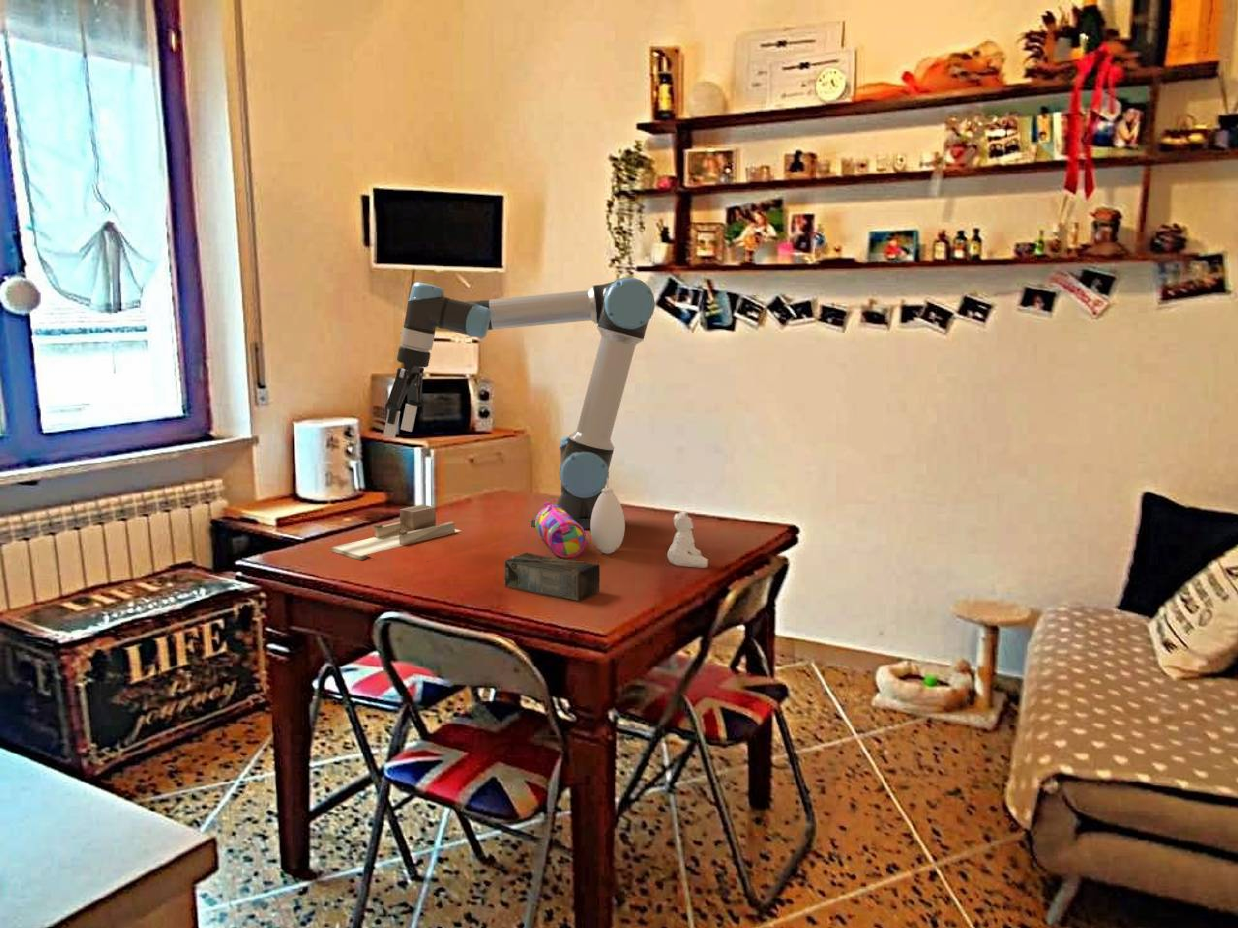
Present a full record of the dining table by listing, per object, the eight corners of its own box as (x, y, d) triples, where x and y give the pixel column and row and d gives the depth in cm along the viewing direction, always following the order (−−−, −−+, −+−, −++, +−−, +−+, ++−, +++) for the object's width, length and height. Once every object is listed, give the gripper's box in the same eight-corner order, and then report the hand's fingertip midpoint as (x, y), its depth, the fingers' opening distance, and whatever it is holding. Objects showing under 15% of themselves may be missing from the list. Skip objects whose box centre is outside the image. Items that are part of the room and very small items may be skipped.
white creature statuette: (709, 568, 210) (710, 515, 207) (671, 570, 208) (672, 517, 206) (699, 556, 219) (700, 506, 217) (662, 558, 217) (663, 507, 215)
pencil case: (530, 538, 235) (529, 502, 233) (566, 535, 238) (566, 500, 236) (550, 562, 215) (549, 523, 213) (590, 558, 217) (590, 520, 216)
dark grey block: (526, 577, 203) (526, 548, 202) (602, 593, 193) (602, 561, 192) (503, 587, 196) (502, 557, 195) (580, 603, 187) (580, 571, 185)
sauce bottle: (603, 546, 227) (603, 472, 224) (630, 551, 223) (631, 476, 219) (584, 553, 221) (583, 478, 217) (611, 559, 216) (611, 482, 213)
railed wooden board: (461, 534, 238) (461, 518, 237) (360, 560, 215) (359, 542, 214) (432, 527, 245) (432, 511, 244) (331, 551, 222) (330, 534, 222)
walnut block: (436, 532, 236) (435, 507, 234) (413, 538, 230) (412, 512, 229) (423, 529, 239) (422, 504, 238) (400, 535, 233) (399, 509, 232)
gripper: (415, 343, 239) (398, 424, 242) (383, 345, 214) (365, 436, 218) (444, 350, 239) (427, 431, 242) (415, 353, 214) (396, 444, 217)
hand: (397, 433), depth 230 cm, fingers open, 13 cm apart
